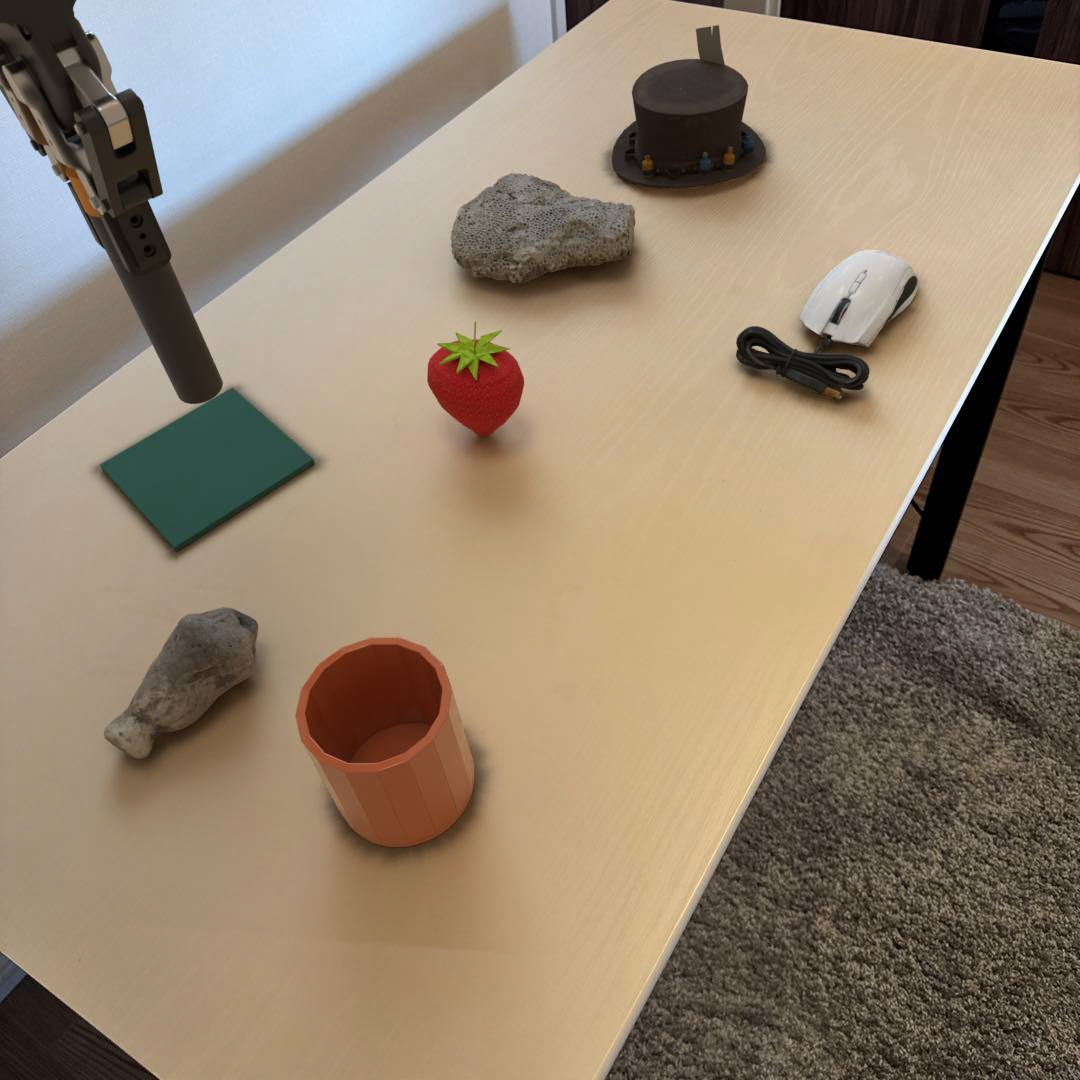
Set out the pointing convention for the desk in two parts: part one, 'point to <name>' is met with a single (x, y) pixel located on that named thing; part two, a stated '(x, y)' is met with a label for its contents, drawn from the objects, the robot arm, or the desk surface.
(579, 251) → the rock
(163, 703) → the stone
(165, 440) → the mat
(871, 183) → the desk surface
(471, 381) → the strawberry
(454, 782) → the pen cup
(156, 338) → the marker
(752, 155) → the top hat
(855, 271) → the computer mouse
